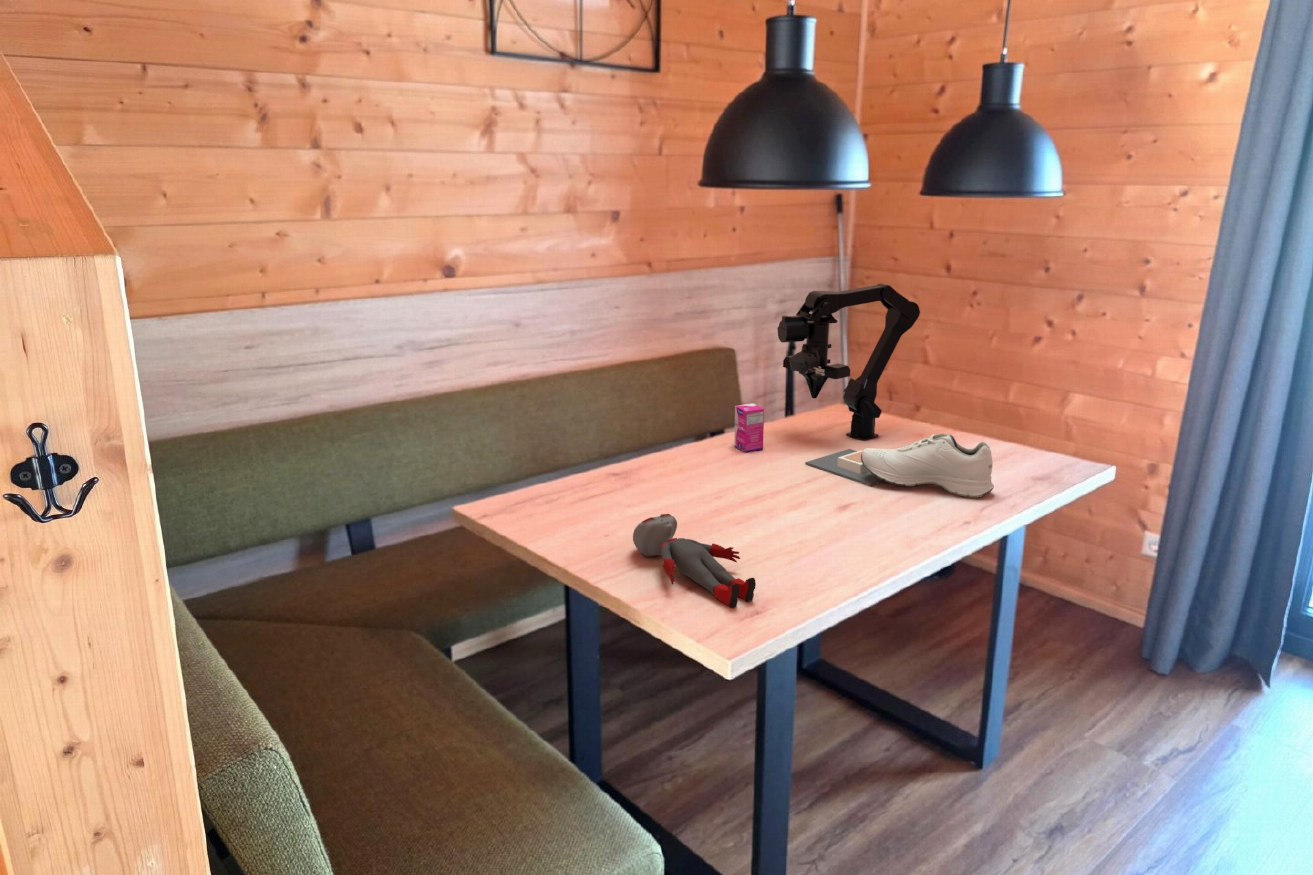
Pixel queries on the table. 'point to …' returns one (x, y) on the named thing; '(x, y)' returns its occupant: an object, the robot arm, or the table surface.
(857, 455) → the cream rectangular block
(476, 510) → the table surface
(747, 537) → the table surface
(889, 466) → the running shoe
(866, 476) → the charcoal mat
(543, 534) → the table surface
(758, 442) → the supplement box
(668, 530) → the toy
